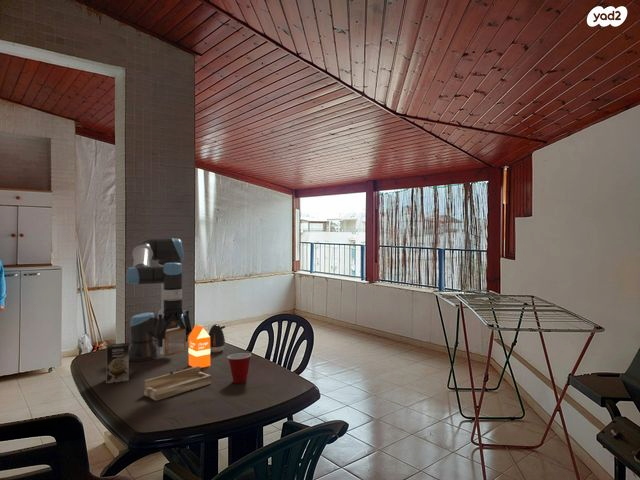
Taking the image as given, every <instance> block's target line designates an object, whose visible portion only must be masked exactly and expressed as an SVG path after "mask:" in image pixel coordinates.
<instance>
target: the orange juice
mask: <svg viewBox="0 0 640 480" xmlns="http://www.w3.org/2000/svg"><path fill="white" fill-rule="evenodd" d="M208 334H209V332H207V330H206V329H205V328H204V326H201V325H199V324H195V325H194V327H193V328H192V332H190V333H189V335H188V365H189V366H190V367H191V368H192V367H196V366H200V369H201V368H206V367H211V351H210V336H209V335H208Z"/></svg>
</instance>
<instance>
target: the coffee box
mask: <svg viewBox="0 0 640 480" xmlns="http://www.w3.org/2000/svg"><path fill="white" fill-rule="evenodd" d="M129 347H130V344H129V343H128V342H121V343H111V344H110V343H109V344H106V368H105V369H106V372H105V373H106V374H105V375H106V384H107V383H108V384H113V382H115V383H121V381H122V382H128V381H130V380H129V379H130V378H129V377H130V376H129V373H130V372H129V369H130V368H129V367H130V366H129V365H130V364H129V362H130V360H129Z"/></svg>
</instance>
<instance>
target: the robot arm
mask: <svg viewBox="0 0 640 480" xmlns="http://www.w3.org/2000/svg"><path fill="white" fill-rule="evenodd" d="M183 247H184V246H183V242H182V239H181V238H173V237H169V238H168V237H167V238H166V237H165V238H164V237H161V238H159V237H158V238H154V237H153V238H146V239H144V240H141V241H140V242H139V243H137V244H135V246H134V248H133V249H132V253H131V256H132V259H133V263H132V266H129V267H127V269H126V283H127V284H128V285H153V284H156V285H157V284H161V285H160V286H161V287H160V290H161V291H160V294H161V296H160V297H161V299H160V301H161V303H160V304H161V305H160V307H161V308H160V310H159V311H158V313H156V315H155V313H154V312H142V313H139V314H136V315H133V316H132V317H131V318H130V325H129V326H130V344H129V362H130V361H131V362H144V361H150V360H154V359H155V358H157V357H158V349H157V347H159V355H161V354H162V355H161V356H164V355H165V339H163V337H164V335H165V333H164V332H166V330H167V329H172V328H178V327H180V328H183V329H186V343H187V342H189V335H190V334H191V332H192V330H193V328H192V326H191V325H192V324H191V322H190V321H191V319H190V317H189V313H190V311H189V310H187V309H183V299H182V298H183V264H182V261H184V260H185V255H184V254H185V253H184V248H183ZM151 261H156V262H157V266H152V265H151V263H152V262H151ZM155 339H157V347H156V344H155Z"/></svg>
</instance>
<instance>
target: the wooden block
mask: <svg viewBox="0 0 640 480" xmlns="http://www.w3.org/2000/svg"><path fill="white" fill-rule="evenodd" d="M164 333H165V335H164V337H163V339H165V355H162V354H160V355H161V356H164V357H169V356H174V355H179V354H180V355H181V354H183V353H186V352H187V342H186V329H183V328H180V327H178V328H172V329H167V330H166V332H164Z"/></svg>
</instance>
